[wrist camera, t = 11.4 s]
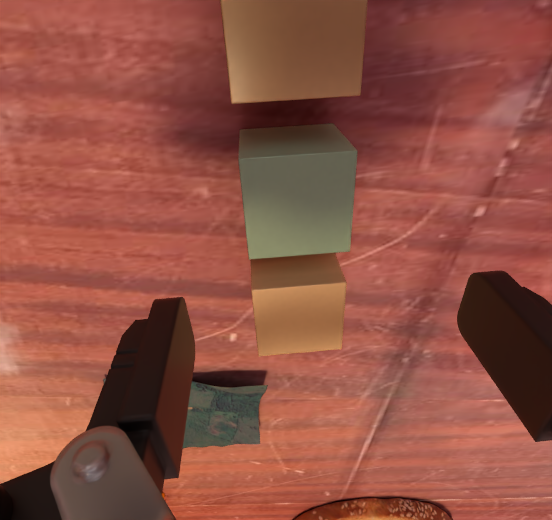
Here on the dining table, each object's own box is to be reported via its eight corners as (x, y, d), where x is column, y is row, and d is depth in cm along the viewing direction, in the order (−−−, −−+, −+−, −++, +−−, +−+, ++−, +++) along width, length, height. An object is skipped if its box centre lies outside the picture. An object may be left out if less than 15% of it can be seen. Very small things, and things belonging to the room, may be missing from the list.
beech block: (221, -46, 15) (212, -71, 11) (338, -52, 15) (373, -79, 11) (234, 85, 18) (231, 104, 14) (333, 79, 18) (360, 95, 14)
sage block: (239, 129, 19) (238, 158, 15) (333, 122, 19) (357, 150, 15) (248, 214, 22) (248, 260, 18) (330, 208, 22) (350, 251, 18)
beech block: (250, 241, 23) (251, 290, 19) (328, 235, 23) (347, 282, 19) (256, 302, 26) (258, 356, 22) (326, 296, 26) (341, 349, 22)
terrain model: (120, 434, 33) (113, 454, 31) (104, 373, 29) (96, 392, 27) (262, 428, 34) (263, 447, 32) (266, 369, 30) (267, 388, 28)
